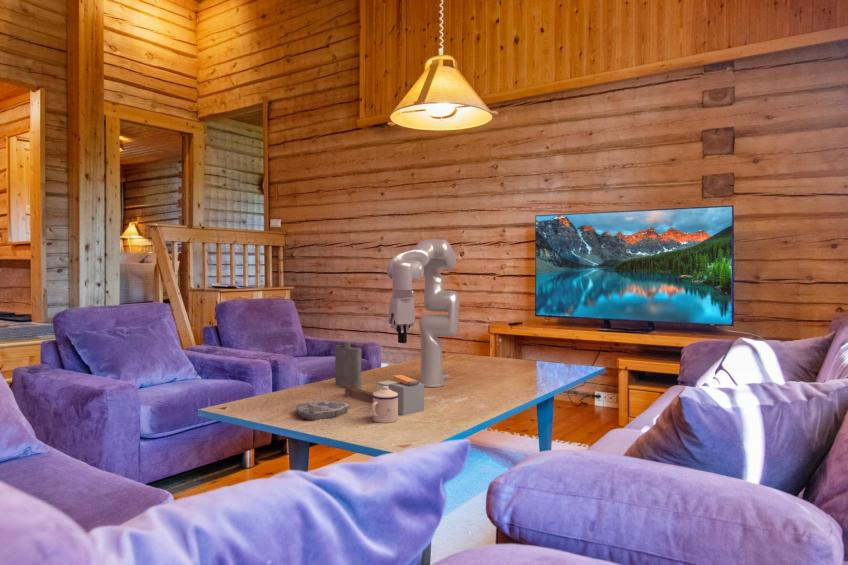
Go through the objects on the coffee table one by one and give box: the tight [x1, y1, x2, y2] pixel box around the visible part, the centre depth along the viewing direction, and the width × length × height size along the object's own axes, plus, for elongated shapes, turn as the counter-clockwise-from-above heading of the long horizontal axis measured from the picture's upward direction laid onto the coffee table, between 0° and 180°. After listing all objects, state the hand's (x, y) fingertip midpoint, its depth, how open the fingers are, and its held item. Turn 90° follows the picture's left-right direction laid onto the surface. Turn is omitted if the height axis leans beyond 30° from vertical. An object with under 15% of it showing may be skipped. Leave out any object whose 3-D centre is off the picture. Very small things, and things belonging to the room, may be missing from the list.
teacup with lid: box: [370, 386, 399, 424], centre depth 204 cm, size 12×9×12 cm
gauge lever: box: [392, 374, 420, 386], centre depth 218 cm, size 4×10×2 cm, turn 44°
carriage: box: [376, 380, 399, 392], centre depth 225 cm, size 6×6×8 cm
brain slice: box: [295, 400, 351, 421], centre depth 212 cm, size 20×17×3 cm
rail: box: [344, 384, 374, 404], centre depth 232 cm, size 5×30×4 cm, turn 44°
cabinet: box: [389, 381, 425, 416], centre depth 218 cm, size 10×8×10 cm
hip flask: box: [334, 340, 362, 390], centre depth 259 cm, size 16×4×20 cm, turn 47°
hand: (402, 342), depth 224 cm, fingers closed
